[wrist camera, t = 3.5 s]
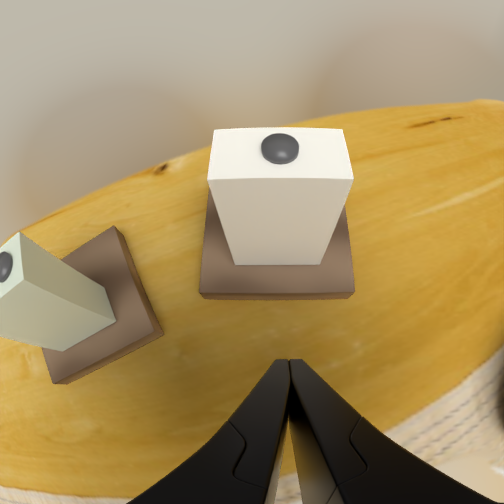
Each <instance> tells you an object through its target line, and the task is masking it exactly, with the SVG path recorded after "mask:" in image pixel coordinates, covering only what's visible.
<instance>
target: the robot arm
mask: <svg viewBox="0 0 504 504" xmlns="http://www.w3.org/2000/svg"><path fill="white" fill-rule="evenodd" d="M288 418H289V427H290V432H291V438H292V444H293V450H294V455H295V461H296V467H297V473H298V478H299V484H300V490H301V496H302V502H303V504H504V503H498V502H495V501H493V500H491V499H489V498H487V497H485V496H483V495H481V494H479V493H477V492H476V491H473V490H472V489H470V488H468V487H466V486H465V485H463V484H461V483H459V482H458V481H456V480H454V479H453V478H451V477H449V476H447V475H446V474H444V473H442V472H441V471H439V470H437V469H436V468H434V467H433V466H431V465H429V464H428V463H426V462H424V461H423V460H421V459H420V458H418V457H417V456H415V455H413V454H412V453H410V452H409V451H407V450H406V449H404V448H403V447H401V446H400V445H398V444H397V443H395V442H394V441H393V440H391V439H390V438H388V437H387V436H386V435H384V434H383V433H382V432H380V431H379V430H378V429H377V428H376V427H374V426H373V425H372V424H371V423H370V422H369V421H368V420H366V419H365V418H364V417H362V416H361V415H360V414H359V413H358V412H357V411H356V410H355V409H354V408H353V407H352V406H351V405H350V404H348V403H347V402H346V401H345V400H344V399H343V398H342V397H341V396H340V395H339V394H338V393H337V392H336V391H335V390H334V389H333V388H331V387H330V386H329V385H328V384H327V383H326V382H325V381H324V380H323V379H322V378H321V377H320V376H319V375H318V374H317V373H316V372H315V371H314V370H313V369H312V368H311V367H310V366H309V365H308V364H307V363H305V362H304V361H303V360H302V359H290V360H289V361H288V360H287V359H276V360H275V361H274V362H273V363H272V365H271V366H270V367H269V369H268V370H267V371H266V373H265V374H264V375H263V377H262V378H261V379H260V381H259V382H258V383H257V384H256V386H255V387H254V388H253V390H252V391H251V392H250V393H249V395H248V396H247V397H246V398H245V400H244V401H243V402H242V403H241V405H240V406H239V407H238V408H237V409H236V411H235V412H234V413H233V414H232V416H231V417H230V418H229V419H228V421H226V422H225V423H224V425H223V426H222V427H221V428H220V429H219V430H218V431H217V433H216V434H215V435H214V436H213V437H212V438H211V439H210V440H209V441H208V442H207V443H206V444H205V445H203V446H202V447H201V448H200V449H199V450H198V451H197V452H196V453H194V454H193V455H192V456H191V457H189V458H188V459H187V460H186V461H184V462H183V463H182V464H181V465H179V466H178V467H177V468H175V469H174V470H173V471H172V472H170V473H169V474H168V475H166V476H165V477H164V478H162V479H161V480H160V481H158V482H157V483H156V484H154V485H153V486H151V487H150V488H149V489H147V490H146V491H144V492H143V493H141V494H140V495H139V496H137V497H136V498H134V499H133V500H131V501H130V502H128V503H127V504H274V500H275V495H276V490H277V485H278V479H279V474H280V468H281V462H282V457H283V451H284V444H285V438H286V432H287V425H288Z"/></svg>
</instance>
